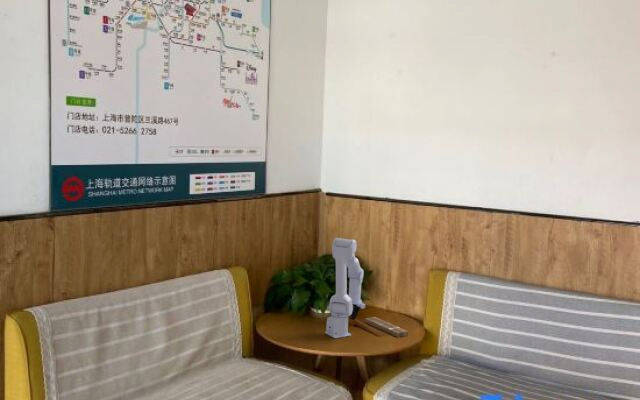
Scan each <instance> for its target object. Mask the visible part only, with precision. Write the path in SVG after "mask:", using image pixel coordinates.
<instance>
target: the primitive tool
mask: <svg viewBox="0 0 640 400" xmlns="http://www.w3.org/2000/svg"><path fill="white" fill-rule="evenodd" d="M352 324H353V326H356V327H359V328H360V329H362V330H366V331H367V332H369V333H371V334H372V335H374V336H376V337H379V338H380V337H385V336H387V333H386V332H383V331H382V330H380V329H379V330H378V328H376V327H374V326H371V325H370V326H369V324H367V323H365V322H363V321H360V320H359V318H356V319H354V320H353V322H352Z"/></svg>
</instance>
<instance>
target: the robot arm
mask: <svg viewBox="0 0 640 400" xmlns="http://www.w3.org/2000/svg"><path fill="white" fill-rule="evenodd" d="M332 241H333V242H332V245H331V246H332V247H331V251H332V258H334V260H335V294H334V295H332V296H331V298H330V299H329V305H328V311H329V312H330V314H331V316H329V317H327V319H326V329H325V332H324V334H326V335H328V336H330V337H331V338H334V339H339V338H345V337H351V336H352V333H350V332H348V330H349V329H348V328H349V317H350V319H351V320H353V321H354V320H355V319H357V316H358V313H359V311H360V310H361V309H366V303H364V302H363V301H362V299H361V296H362V295H361V294H362V283H363V279H364V269H363V268H362V267H361V265H360V261H359V259H358V258H357V257H356V251H357V246H358V243H357V241H356V239H349V238H348V239H347V238H340V237H335V238H334V239H333V240H332ZM347 269H348V270H347ZM347 276H348V277H347ZM347 278H348V279H349V285H348V287H349V288H348V287H347V284H348V283H347V282H348V281H347ZM347 291H348V292H347ZM347 293H348V294H347Z"/></svg>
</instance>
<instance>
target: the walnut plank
mask: <svg viewBox="0 0 640 400" xmlns="http://www.w3.org/2000/svg"><path fill="white" fill-rule="evenodd" d="M364 323H365V324H367V325H370V326H371V327H373V328H375V329H379V330H380V331H382V332H383V331H384V333H386V334H390V335H392V336H394V337H396V338H401V337H406V336H407V335H408V334H409V333H408V330H406V329H404V328H401V327H399V326H397V325H396V324H395V325H394V324H392V323H390V322H388V321H386V320H383V319H381V318H378V317H376V316H371V317H365V321H364ZM407 337H408V336H407Z"/></svg>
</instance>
